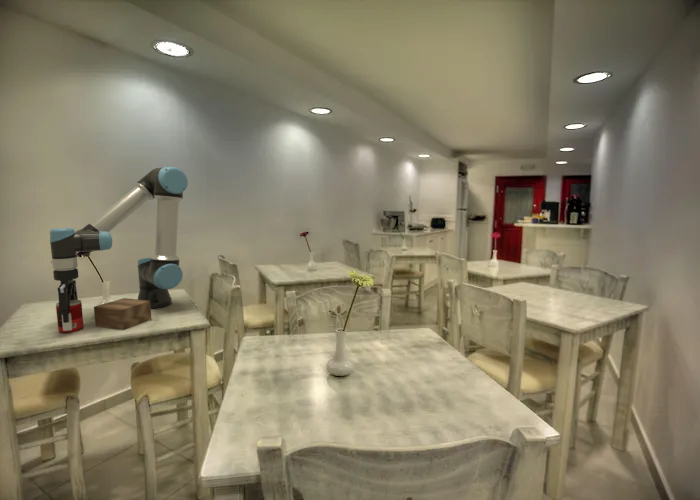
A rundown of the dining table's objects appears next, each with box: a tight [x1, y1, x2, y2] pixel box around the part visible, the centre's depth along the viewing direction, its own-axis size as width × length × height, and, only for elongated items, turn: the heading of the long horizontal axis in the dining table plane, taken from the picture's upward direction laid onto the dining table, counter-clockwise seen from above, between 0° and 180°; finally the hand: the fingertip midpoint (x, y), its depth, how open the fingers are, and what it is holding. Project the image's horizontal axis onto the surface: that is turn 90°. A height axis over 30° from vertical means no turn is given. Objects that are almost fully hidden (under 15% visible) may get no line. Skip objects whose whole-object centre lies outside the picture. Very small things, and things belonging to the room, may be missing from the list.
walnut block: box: [93, 297, 152, 331], centre depth 155 cm, size 14×14×8 cm
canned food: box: [55, 299, 84, 334], centre depth 146 cm, size 8×8×11 cm
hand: (71, 326), depth 147 cm, fingers closed on canned food, 8 cm apart
